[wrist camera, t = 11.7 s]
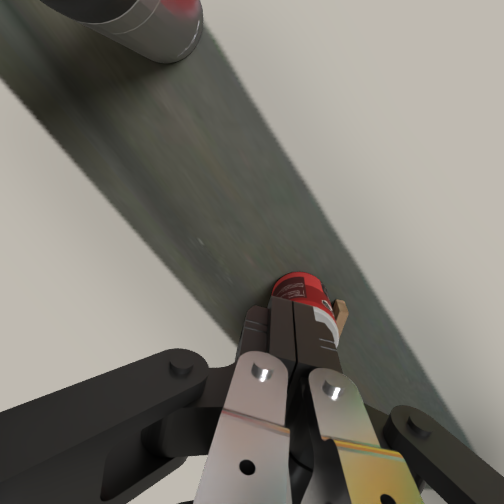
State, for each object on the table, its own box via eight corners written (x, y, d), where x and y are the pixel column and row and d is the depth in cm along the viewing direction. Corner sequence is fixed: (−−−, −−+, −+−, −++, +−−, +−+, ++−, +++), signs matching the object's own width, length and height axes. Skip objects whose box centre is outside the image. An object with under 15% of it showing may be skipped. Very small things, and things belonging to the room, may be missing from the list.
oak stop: (259, 324, 53) (257, 337, 49) (271, 282, 50) (270, 293, 47) (328, 341, 53) (332, 356, 50) (344, 301, 51) (348, 313, 47)
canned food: (316, 325, 52) (326, 374, 42) (264, 309, 52) (260, 355, 42) (335, 279, 50) (350, 319, 39) (280, 263, 49) (280, 299, 39)
